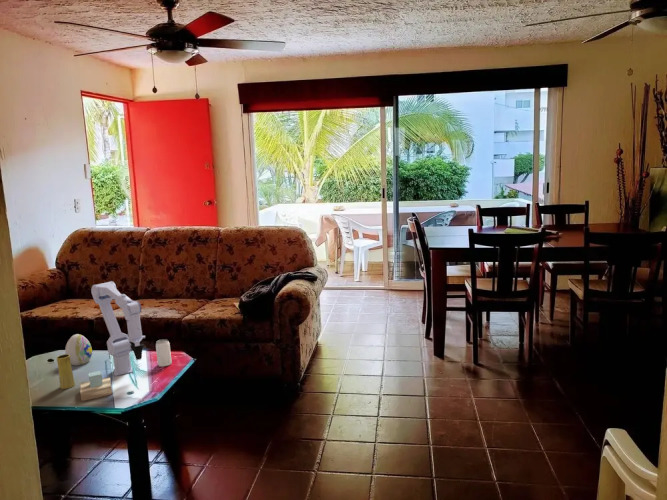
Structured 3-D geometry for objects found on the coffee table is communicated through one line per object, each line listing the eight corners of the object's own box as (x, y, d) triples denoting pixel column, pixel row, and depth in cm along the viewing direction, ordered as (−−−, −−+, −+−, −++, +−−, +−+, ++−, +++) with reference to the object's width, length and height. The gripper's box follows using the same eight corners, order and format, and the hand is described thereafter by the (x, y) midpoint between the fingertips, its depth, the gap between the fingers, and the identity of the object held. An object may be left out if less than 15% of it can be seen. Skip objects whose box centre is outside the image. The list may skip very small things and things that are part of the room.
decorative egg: (86, 366, 262) (82, 337, 260) (62, 367, 262) (58, 339, 260) (97, 357, 274) (93, 330, 272) (74, 359, 274) (70, 331, 272)
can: (167, 367, 253) (164, 343, 251) (155, 366, 254) (152, 343, 253) (174, 362, 259) (171, 338, 258) (162, 362, 261) (159, 338, 259)
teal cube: (89, 384, 229) (88, 373, 228) (102, 381, 231) (100, 370, 230) (90, 387, 224) (88, 376, 223) (102, 385, 226) (101, 374, 226)
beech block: (81, 391, 231) (80, 383, 230) (111, 385, 236) (110, 377, 235) (81, 402, 220) (80, 393, 219) (112, 395, 225) (111, 386, 224)
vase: (63, 384, 240) (59, 354, 238) (77, 382, 241) (72, 353, 238) (57, 389, 234) (53, 359, 232) (71, 388, 235) (67, 357, 232)
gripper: (145, 330, 232) (148, 359, 234) (142, 322, 245) (145, 350, 247) (128, 333, 229) (132, 363, 231) (126, 325, 242) (130, 353, 244)
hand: (138, 356), depth 239 cm, fingers open, 7 cm apart
